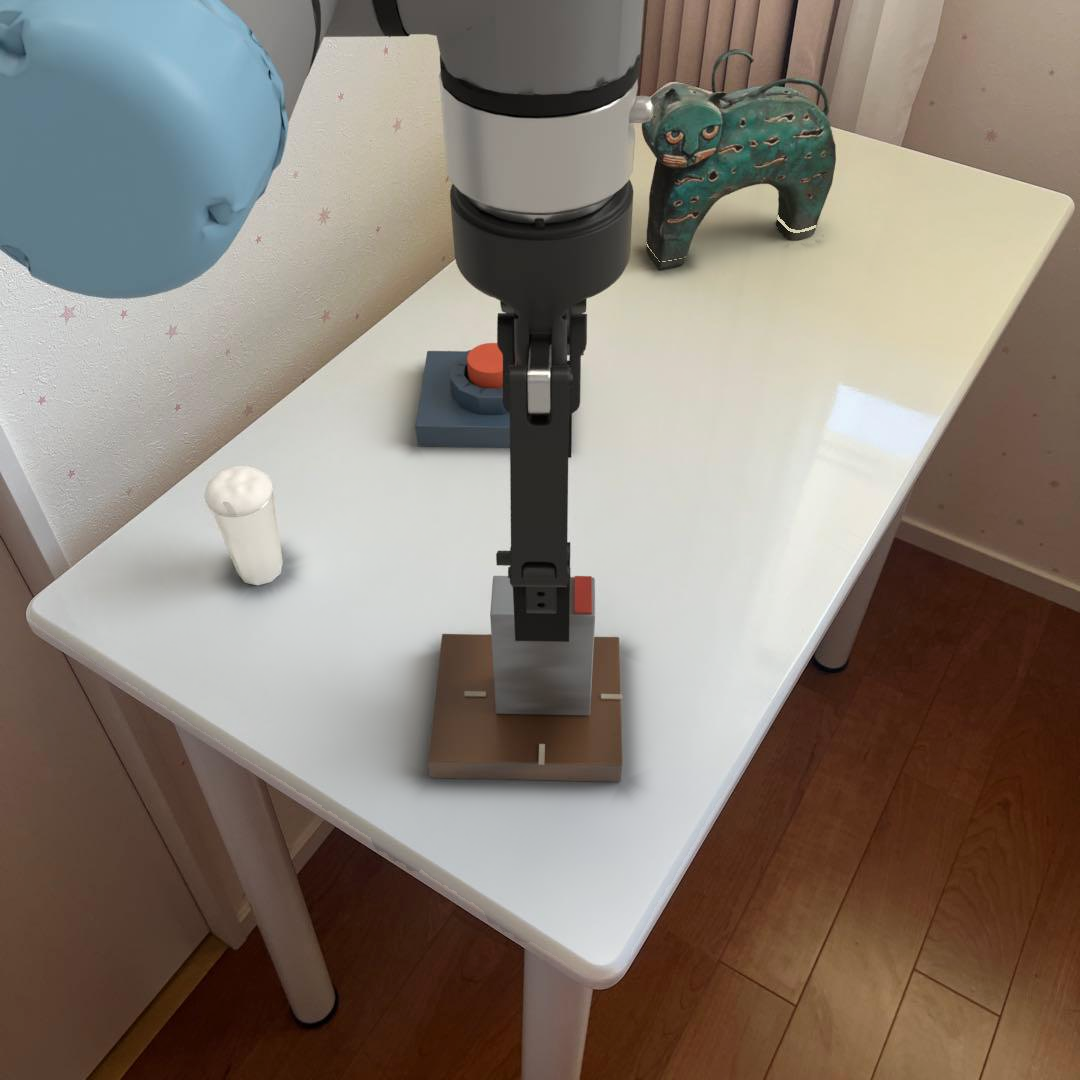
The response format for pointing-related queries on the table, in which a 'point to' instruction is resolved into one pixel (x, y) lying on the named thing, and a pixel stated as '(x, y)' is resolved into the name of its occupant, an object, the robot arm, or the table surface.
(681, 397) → the table surface
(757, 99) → the ceramic cat
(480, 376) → the button
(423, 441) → the button block
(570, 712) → the grey slab
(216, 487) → the milkshake
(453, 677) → the panel
